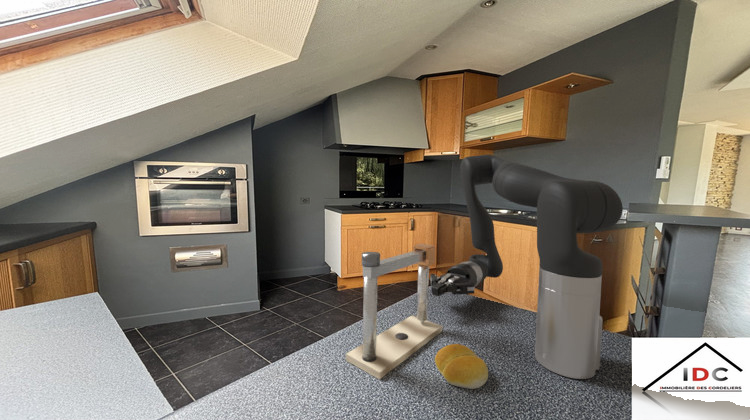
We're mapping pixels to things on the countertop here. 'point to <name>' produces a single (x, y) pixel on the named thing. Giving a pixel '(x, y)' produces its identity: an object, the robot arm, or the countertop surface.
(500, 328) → the countertop surface
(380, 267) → the metal gantry frame
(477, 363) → the bread roll
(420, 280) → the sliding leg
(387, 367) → the plate
